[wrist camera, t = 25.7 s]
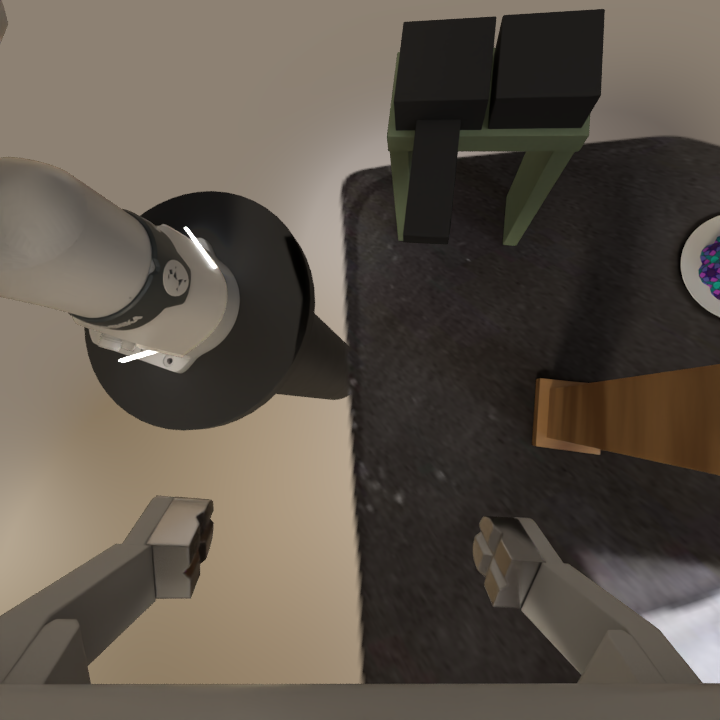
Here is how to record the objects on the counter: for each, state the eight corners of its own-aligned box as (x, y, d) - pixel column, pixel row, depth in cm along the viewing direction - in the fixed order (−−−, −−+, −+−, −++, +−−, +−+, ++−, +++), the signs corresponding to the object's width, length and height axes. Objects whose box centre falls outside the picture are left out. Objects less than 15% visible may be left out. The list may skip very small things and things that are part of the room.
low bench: (397, 244, 42) (386, 136, 25) (404, 190, 43) (397, 51, 26) (515, 250, 40) (589, 135, 23) (520, 193, 40) (594, 42, 24)
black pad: (381, 241, 24) (377, 222, 22) (404, 57, 26) (403, 21, 23) (470, 245, 23) (477, 226, 21) (488, 54, 25) (496, 16, 22)
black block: (487, 129, 24) (495, 97, 22) (494, 53, 25) (503, 14, 22) (581, 128, 23) (601, 95, 21) (585, 49, 24) (605, 8, 21)
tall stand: (531, 444, 37) (784, 523, 12) (535, 379, 37) (780, 319, 12) (594, 453, 36) (1017, 559, 11) (597, 385, 36) (996, 335, 11)
